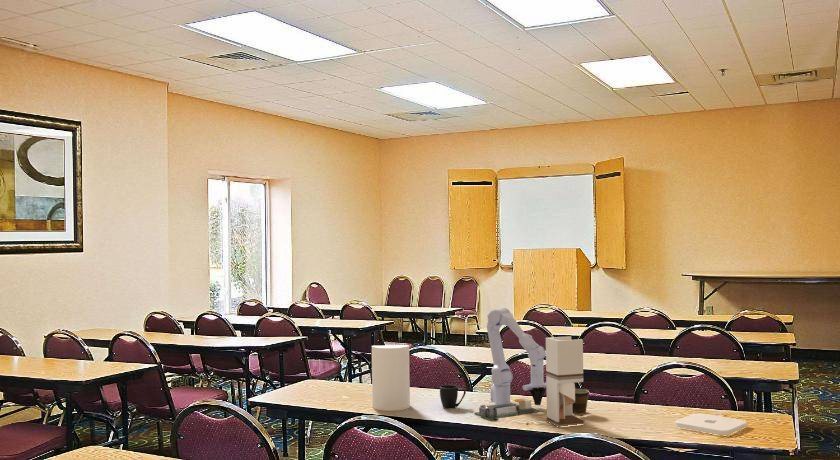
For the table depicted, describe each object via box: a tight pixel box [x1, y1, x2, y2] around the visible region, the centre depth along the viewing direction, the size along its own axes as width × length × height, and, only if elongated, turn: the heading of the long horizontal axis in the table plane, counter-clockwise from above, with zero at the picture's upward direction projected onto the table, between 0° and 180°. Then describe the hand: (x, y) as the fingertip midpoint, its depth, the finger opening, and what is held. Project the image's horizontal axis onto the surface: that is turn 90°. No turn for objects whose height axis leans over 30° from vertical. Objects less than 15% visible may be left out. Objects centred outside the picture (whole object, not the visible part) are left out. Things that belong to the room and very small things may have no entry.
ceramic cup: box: [572, 388, 590, 415], centre depth 323 cm, size 13×10×10 cm
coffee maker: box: [545, 336, 585, 428], centre depth 307 cm, size 11×11×35 cm
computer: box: [674, 412, 748, 435], centre depth 298 cm, size 22×22×3 cm
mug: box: [439, 384, 467, 410], centre depth 339 cm, size 8×12×10 cm
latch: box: [514, 397, 532, 410], centre depth 329 cm, size 5×5×5 cm
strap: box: [483, 402, 517, 410], centre depth 323 cm, size 4×15×1 cm, turn 118°
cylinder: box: [371, 344, 411, 412], centre depth 343 cm, size 17×17×28 cm
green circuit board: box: [473, 403, 544, 422], centre depth 325 cm, size 14×28×4 cm, turn 118°
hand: (537, 404), depth 332 cm, fingers closed
